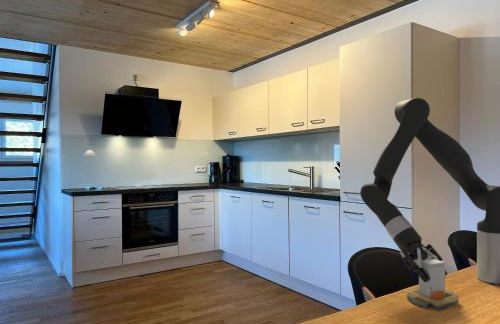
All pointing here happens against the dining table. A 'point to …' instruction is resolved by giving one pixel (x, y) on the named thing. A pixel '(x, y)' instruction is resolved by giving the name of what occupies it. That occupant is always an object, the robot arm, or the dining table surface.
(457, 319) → the dining table surface
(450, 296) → the beige grey rectangular frame
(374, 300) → the dining table surface
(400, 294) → the dining table surface
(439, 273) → the skincare box
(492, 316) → the dining table surface
